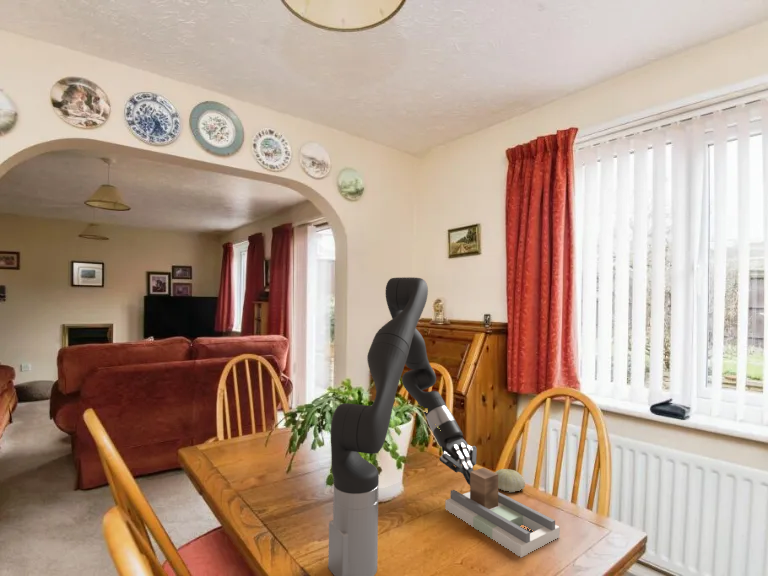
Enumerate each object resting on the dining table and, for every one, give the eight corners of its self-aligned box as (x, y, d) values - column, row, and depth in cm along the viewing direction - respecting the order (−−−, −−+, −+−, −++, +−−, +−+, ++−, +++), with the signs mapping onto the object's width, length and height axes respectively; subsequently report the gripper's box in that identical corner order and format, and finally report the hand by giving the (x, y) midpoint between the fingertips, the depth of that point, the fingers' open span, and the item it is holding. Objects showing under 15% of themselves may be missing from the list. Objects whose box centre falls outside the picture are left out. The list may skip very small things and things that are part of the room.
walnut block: (484, 511, 104) (484, 478, 104) (470, 502, 108) (470, 471, 108) (498, 505, 107) (498, 474, 107) (483, 497, 111) (483, 467, 111)
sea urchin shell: (494, 471, 130) (512, 456, 127) (512, 493, 127) (531, 479, 124) (485, 482, 122) (504, 466, 119) (504, 506, 119) (524, 491, 116)
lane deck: (520, 557, 89) (521, 536, 89) (445, 509, 109) (445, 492, 109) (559, 537, 97) (559, 518, 97) (482, 496, 117) (482, 480, 117)
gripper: (432, 422, 115) (463, 483, 104) (466, 415, 122) (499, 472, 112) (420, 436, 119) (449, 496, 109) (454, 429, 126) (484, 484, 116)
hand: (474, 484), depth 110 cm, fingers closed
